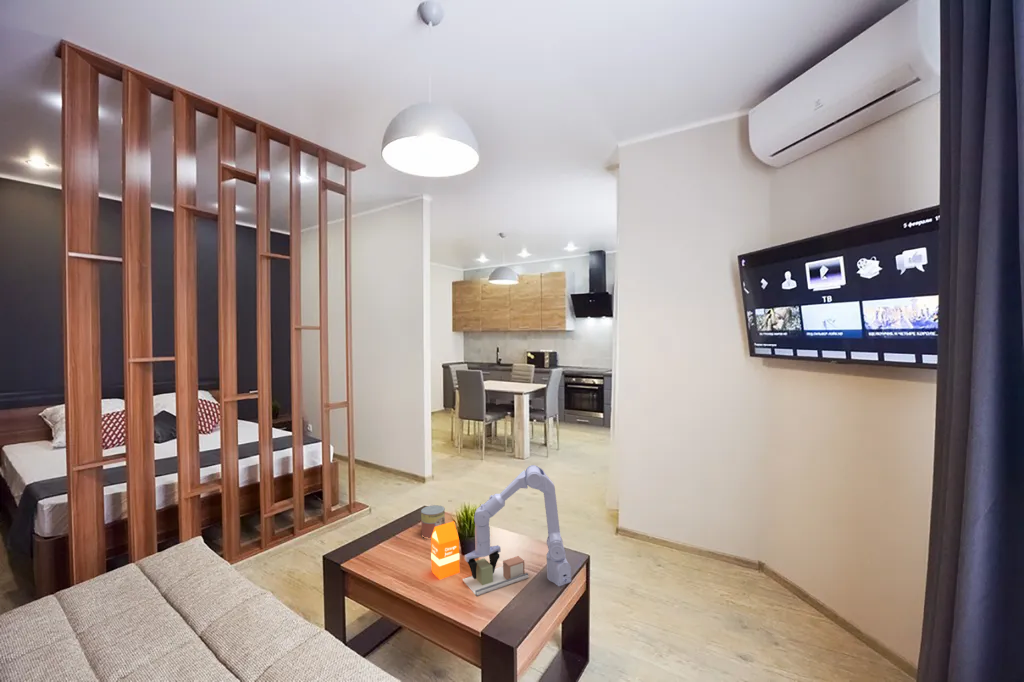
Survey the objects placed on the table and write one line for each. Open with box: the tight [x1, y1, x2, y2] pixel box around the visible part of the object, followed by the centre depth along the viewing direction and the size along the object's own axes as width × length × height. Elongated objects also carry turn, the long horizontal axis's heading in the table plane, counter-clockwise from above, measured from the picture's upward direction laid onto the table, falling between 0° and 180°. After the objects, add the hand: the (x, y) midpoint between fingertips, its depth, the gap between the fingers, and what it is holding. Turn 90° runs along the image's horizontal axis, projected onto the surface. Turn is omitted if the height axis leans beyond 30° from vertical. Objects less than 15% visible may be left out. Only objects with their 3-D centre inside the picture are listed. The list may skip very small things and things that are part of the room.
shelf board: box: [462, 565, 529, 597], centre depth 165 cm, size 13×22×2 cm, turn 120°
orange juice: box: [430, 520, 461, 580], centre depth 170 cm, size 8×9×20 cm
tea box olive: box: [475, 557, 493, 585], centre depth 164 cm, size 5×7×6 cm
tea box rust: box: [502, 555, 526, 580], centre depth 166 cm, size 5×7×6 cm
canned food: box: [420, 504, 446, 538], centre depth 207 cm, size 11×11×12 cm
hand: (483, 574), depth 164 cm, fingers open, 7 cm apart
